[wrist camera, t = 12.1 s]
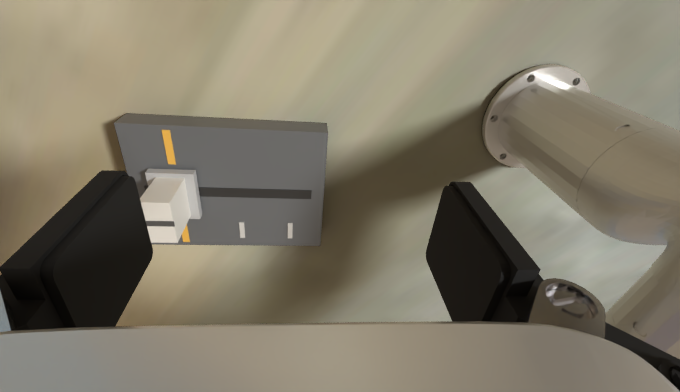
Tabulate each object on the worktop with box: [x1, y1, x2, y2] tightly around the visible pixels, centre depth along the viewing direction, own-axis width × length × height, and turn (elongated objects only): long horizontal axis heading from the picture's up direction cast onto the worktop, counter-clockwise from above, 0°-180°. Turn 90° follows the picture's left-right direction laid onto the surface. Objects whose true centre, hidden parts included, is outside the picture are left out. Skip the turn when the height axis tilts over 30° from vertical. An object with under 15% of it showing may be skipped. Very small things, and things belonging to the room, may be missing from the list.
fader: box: [140, 169, 202, 243], centre depth 38 cm, size 5×6×6 cm
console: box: [114, 113, 328, 246], centre depth 43 cm, size 22×16×3 cm
